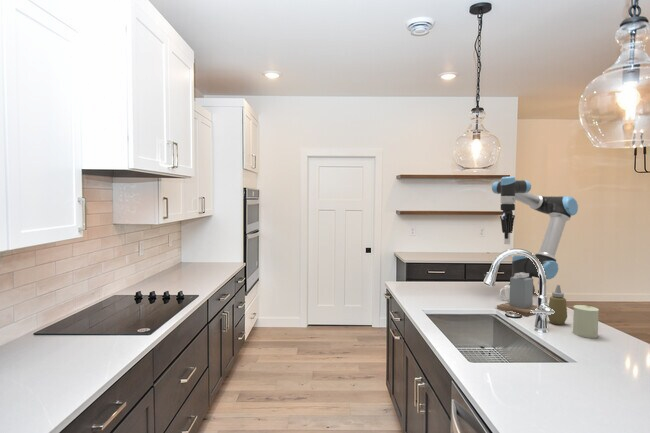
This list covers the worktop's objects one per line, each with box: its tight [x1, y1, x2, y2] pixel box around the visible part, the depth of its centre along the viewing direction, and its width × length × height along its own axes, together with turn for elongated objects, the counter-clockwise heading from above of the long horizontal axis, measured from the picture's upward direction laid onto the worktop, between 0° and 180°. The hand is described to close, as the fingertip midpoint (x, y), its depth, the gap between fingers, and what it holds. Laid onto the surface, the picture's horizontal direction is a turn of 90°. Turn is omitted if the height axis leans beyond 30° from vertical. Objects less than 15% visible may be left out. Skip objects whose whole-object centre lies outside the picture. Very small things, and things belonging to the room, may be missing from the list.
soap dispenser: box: [509, 276, 534, 309], centre depth 201 cm, size 8×8×15 cm
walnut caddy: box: [496, 302, 538, 317], centre depth 201 cm, size 18×16×2 cm
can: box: [572, 304, 600, 339], centre depth 165 cm, size 9×9×12 cm
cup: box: [499, 284, 510, 302], centre depth 221 cm, size 7×10×8 cm
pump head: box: [514, 272, 529, 279], centre depth 199 cm, size 10×4×10 cm, turn 125°
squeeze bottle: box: [547, 284, 568, 326], centre depth 179 cm, size 8×8×18 cm
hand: (507, 244), depth 222 cm, fingers closed
